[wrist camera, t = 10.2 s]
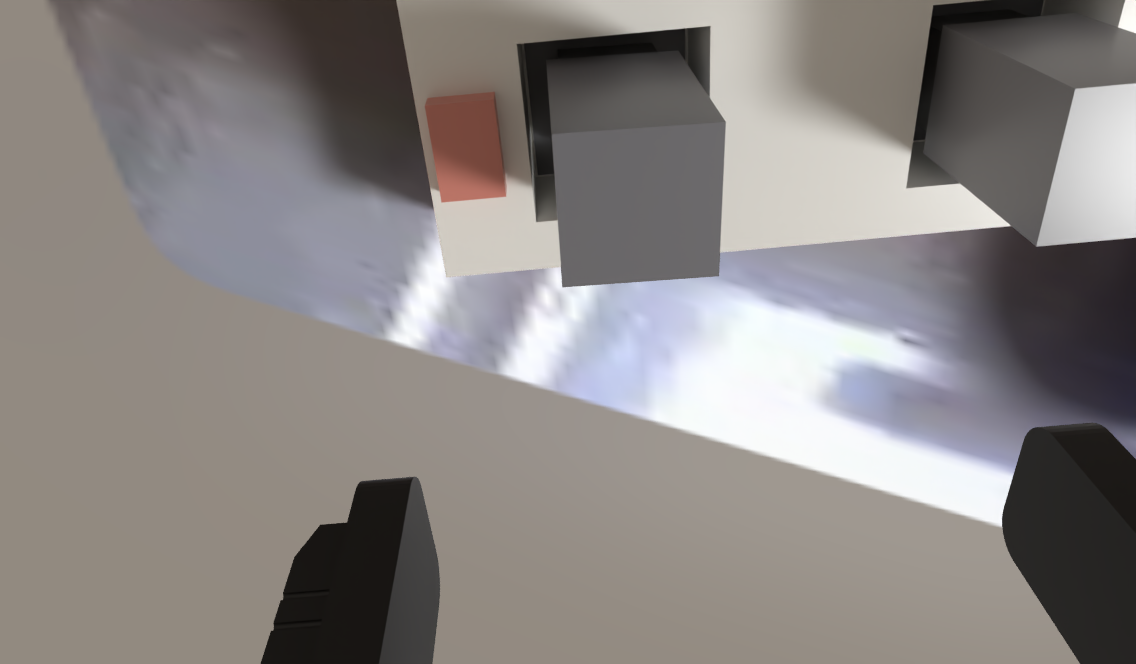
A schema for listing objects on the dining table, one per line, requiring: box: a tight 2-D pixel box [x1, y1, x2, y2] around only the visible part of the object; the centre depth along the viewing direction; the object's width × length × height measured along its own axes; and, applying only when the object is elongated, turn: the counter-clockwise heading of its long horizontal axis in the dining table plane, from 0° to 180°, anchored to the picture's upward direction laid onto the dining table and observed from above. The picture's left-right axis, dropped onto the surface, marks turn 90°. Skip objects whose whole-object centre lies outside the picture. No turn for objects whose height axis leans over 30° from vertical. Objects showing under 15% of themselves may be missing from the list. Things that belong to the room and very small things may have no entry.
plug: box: [546, 43, 726, 287], centre depth 24 cm, size 4×4×10 cm
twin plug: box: [916, 9, 1136, 247], centre depth 24 cm, size 4×4×10 cm
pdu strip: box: [396, 0, 1136, 277], centre depth 27 cm, size 9×24×6 cm, turn 95°
